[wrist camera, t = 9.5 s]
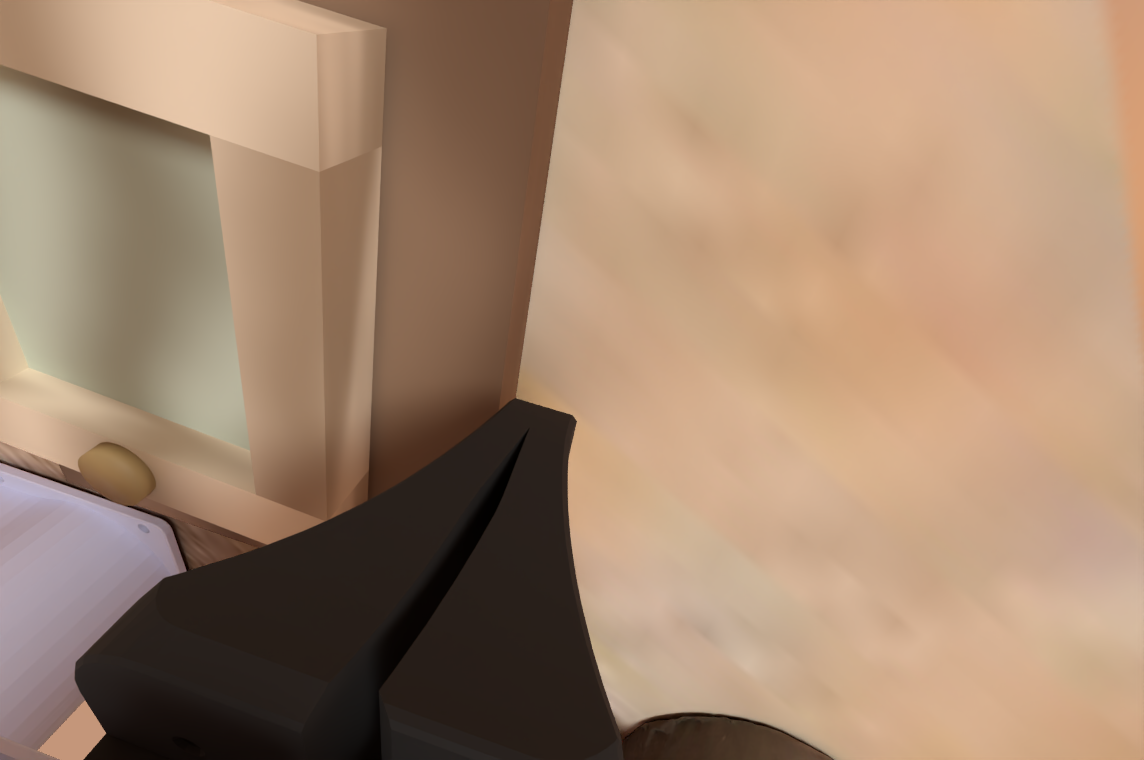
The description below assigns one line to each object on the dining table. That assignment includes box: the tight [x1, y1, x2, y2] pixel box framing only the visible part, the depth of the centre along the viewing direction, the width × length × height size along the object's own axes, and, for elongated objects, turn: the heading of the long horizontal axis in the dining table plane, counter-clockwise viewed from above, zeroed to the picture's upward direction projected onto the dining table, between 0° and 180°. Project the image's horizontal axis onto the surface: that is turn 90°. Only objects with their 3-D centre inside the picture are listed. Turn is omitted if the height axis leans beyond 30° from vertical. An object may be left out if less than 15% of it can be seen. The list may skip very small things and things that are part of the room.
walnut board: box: [59, 0, 573, 548], centre depth 16 cm, size 16×20×2 cm
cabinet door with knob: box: [0, 0, 387, 545], centre depth 13 cm, size 12×13×2 cm
